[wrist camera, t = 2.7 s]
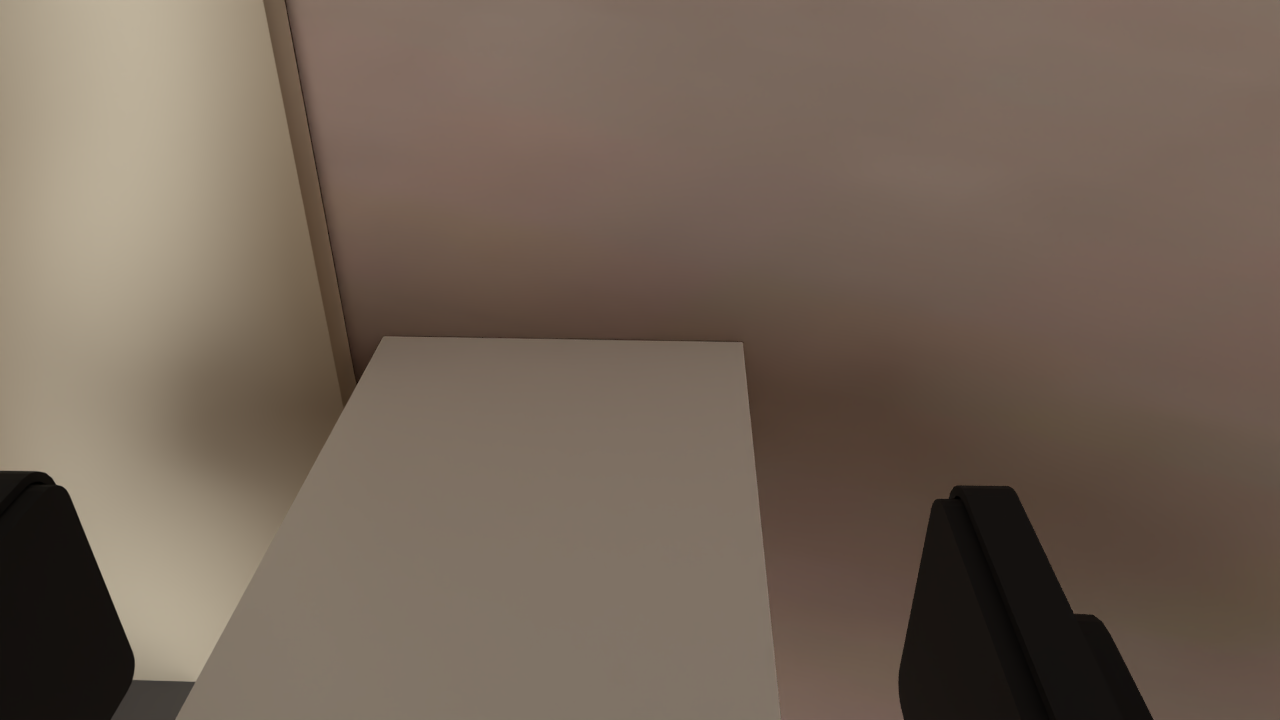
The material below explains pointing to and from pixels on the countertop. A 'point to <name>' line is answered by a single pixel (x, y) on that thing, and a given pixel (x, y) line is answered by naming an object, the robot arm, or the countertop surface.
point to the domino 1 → (153, 700)
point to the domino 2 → (516, 545)
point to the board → (164, 296)
